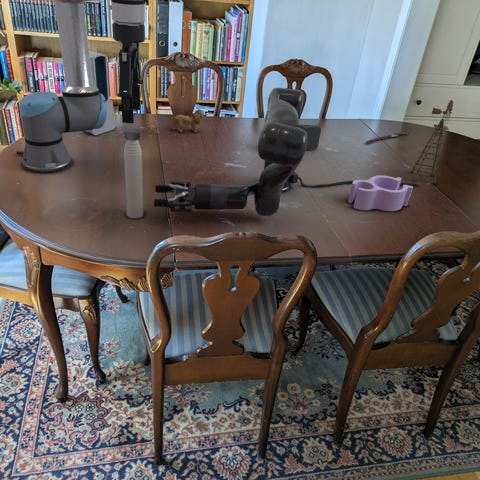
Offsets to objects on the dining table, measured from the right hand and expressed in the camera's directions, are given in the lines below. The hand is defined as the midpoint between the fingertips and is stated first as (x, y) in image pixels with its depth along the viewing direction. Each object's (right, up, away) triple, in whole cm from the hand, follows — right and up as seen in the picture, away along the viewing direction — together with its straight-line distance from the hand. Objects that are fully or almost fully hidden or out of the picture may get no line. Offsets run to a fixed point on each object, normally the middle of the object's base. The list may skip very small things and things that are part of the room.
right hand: (154, 195), depth 134 cm
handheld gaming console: (+46, +24, +57) cm, 77 cm away
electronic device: (-33, +32, +56) cm, 72 cm away
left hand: (-4, +19, -13) cm, 24 cm away
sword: (+92, +33, +79) cm, 126 cm away
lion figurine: (+2, +34, +65) cm, 73 cm away
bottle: (-6, -5, +3) cm, 9 cm away
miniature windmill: (+95, +11, +45) cm, 106 cm away
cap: (-4, +16, -11) cm, 20 cm away
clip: (+71, 0, +24) cm, 75 cm away
